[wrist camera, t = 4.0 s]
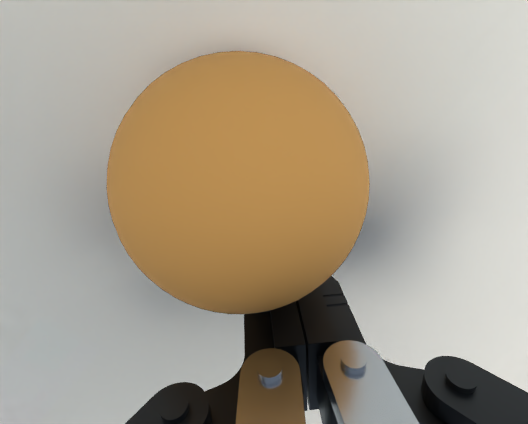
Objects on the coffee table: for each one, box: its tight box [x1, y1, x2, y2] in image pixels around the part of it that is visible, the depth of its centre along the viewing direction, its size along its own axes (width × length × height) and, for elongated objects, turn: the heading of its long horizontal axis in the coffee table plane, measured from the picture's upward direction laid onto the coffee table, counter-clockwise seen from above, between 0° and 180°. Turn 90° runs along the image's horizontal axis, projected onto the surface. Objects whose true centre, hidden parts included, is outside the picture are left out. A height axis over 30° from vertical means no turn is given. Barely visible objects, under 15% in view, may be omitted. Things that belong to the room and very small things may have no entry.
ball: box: [107, 51, 369, 314], centre depth 8 cm, size 6×6×6 cm
